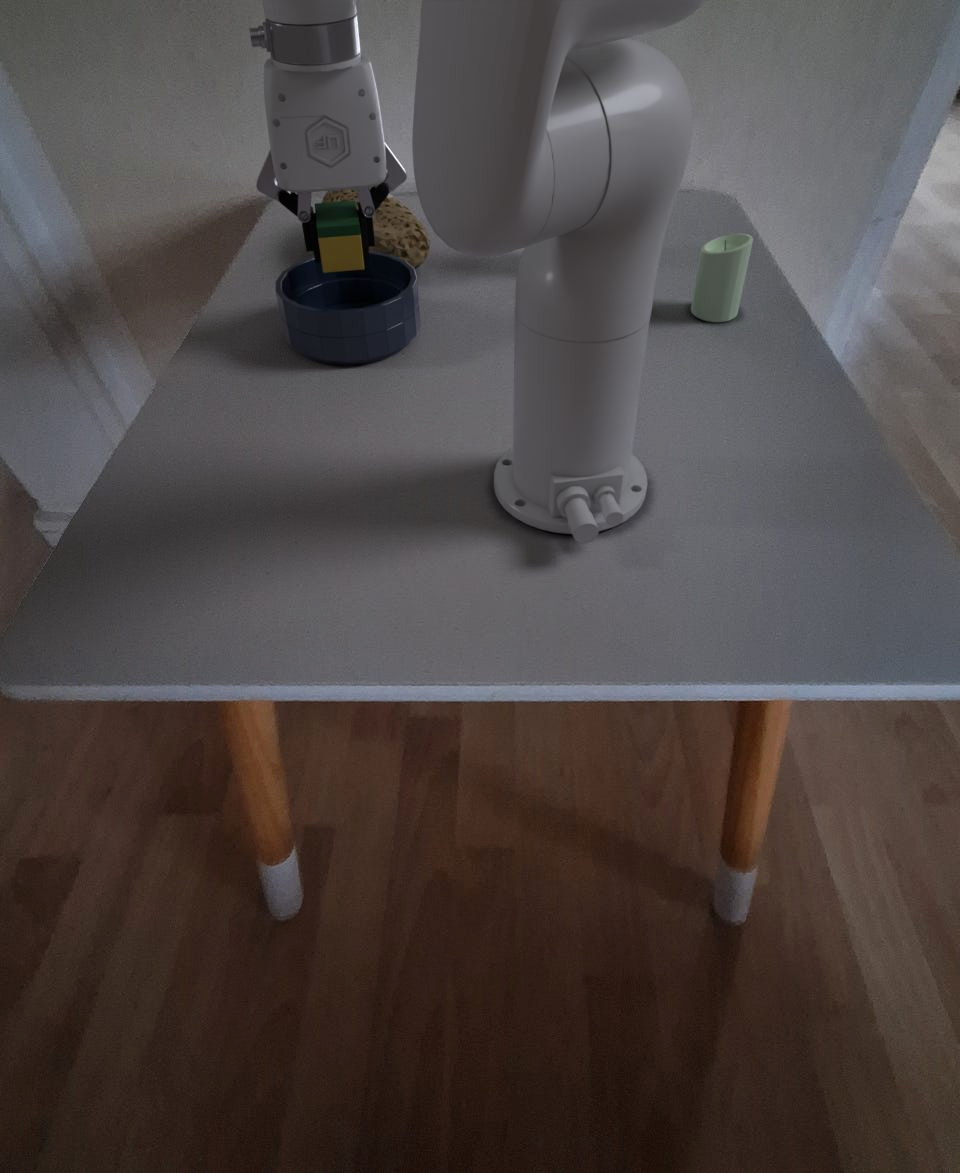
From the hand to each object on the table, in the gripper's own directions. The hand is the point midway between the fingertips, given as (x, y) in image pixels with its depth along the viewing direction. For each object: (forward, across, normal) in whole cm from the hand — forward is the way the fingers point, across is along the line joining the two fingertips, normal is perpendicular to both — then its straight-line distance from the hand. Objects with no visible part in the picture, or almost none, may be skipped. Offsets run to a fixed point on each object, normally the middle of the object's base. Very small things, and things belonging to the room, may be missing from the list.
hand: (341, 253), depth 84 cm
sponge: (+9, +4, +20) cm, 22 cm away
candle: (+8, +39, -3) cm, 40 cm away
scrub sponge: (0, 0, 0) cm, 0 cm away
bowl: (+9, 0, 0) cm, 9 cm away
